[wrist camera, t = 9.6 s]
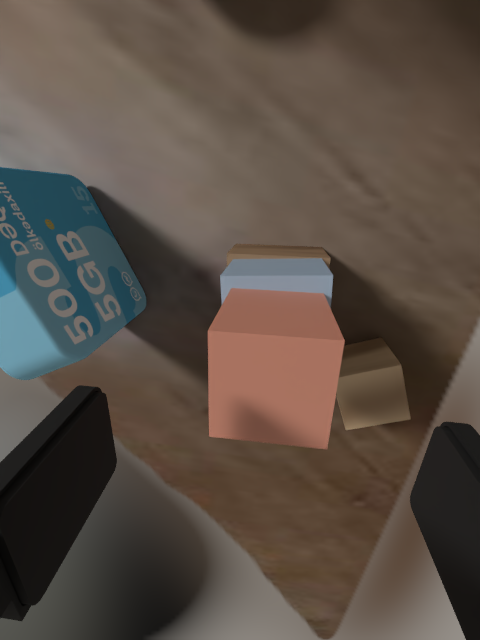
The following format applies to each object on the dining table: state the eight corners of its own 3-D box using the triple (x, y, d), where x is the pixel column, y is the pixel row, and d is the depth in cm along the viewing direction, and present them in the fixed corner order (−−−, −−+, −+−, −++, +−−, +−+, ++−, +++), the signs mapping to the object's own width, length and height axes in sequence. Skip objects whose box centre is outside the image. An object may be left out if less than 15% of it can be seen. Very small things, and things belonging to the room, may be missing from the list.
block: (324, 349, 29) (332, 378, 24) (381, 336, 28) (401, 364, 23) (335, 394, 30) (345, 430, 26) (390, 384, 29) (410, 419, 25)
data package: (152, 304, 29) (73, 369, 18) (113, 320, 30) (15, 391, 19) (81, 174, 26) (-70, 157, 15) (40, 198, 27) (-130, 199, 16)
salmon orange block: (231, 287, 17) (207, 330, 12) (323, 293, 17) (344, 340, 11) (230, 367, 19) (209, 436, 14) (313, 374, 19) (326, 449, 13)
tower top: (233, 259, 22) (220, 275, 17) (321, 258, 21) (333, 275, 16) (236, 338, 24) (225, 371, 19) (316, 339, 23) (325, 375, 19)
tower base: (236, 243, 26) (226, 253, 22) (321, 247, 26) (330, 258, 21) (234, 321, 29) (226, 344, 24) (312, 326, 28) (318, 351, 24)
